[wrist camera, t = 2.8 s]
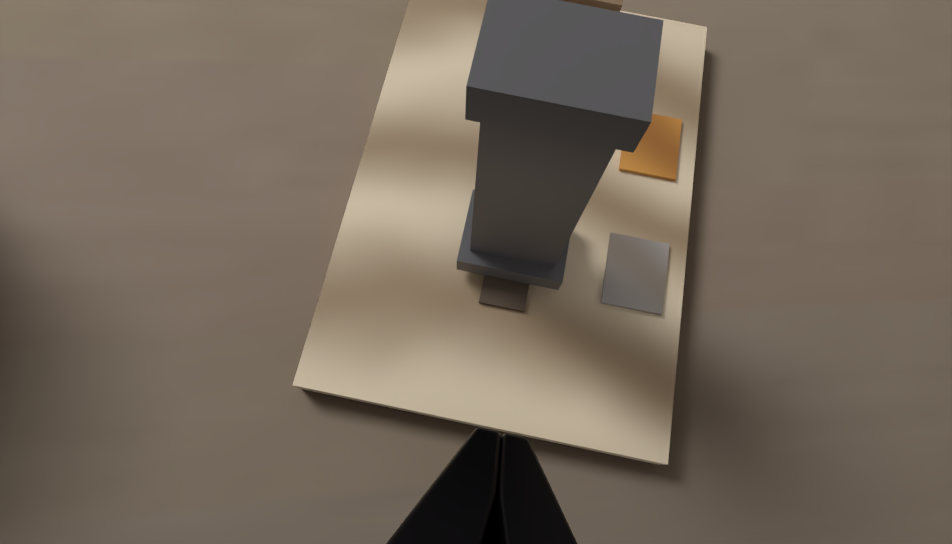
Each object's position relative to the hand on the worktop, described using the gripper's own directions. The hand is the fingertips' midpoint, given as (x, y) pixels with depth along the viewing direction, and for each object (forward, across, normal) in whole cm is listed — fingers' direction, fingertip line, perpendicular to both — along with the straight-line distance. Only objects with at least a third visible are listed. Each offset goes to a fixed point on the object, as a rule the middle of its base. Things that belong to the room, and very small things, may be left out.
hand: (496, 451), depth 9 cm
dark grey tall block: (+14, 0, +3) cm, 14 cm away
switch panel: (+17, 0, +2) cm, 17 cm away
